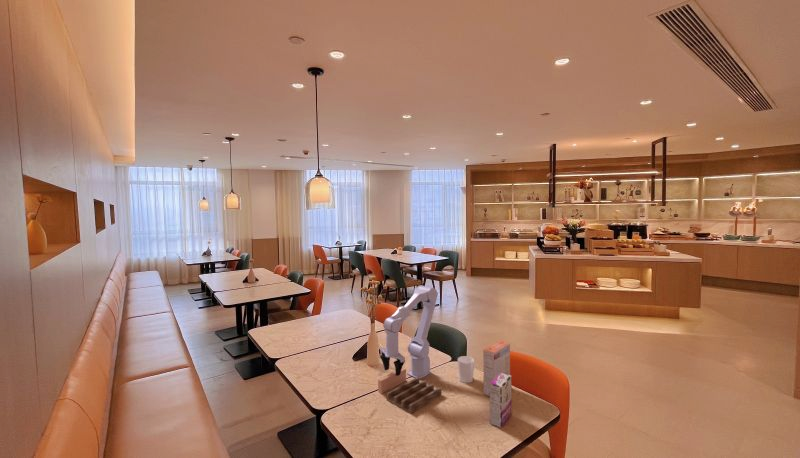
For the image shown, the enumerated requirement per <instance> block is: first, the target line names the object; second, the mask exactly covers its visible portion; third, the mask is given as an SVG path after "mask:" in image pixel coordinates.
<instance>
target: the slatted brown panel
mask: <svg viewBox="0 0 800 458" xmlns="http://www.w3.org/2000/svg"><path fill="white" fill-rule="evenodd" d="M440 396H442V387H441V386H439V387H437V388H436V389H435V384H434V383H431V384H429V385H428V383H427V380H425V379H424V380H422V381H420V379H419V377H417V378H415V377H414V378H413V379H411V380H409V381H407V382H404V384H403V383H402V385H400V386H398V387H396V388H394V389H392V390H389V391H388V392H386V401H388V402H389V403H391V404H393V405H395V406H396V407H398V408H399V409H402V410H404V411H406V412H407V413H409V414H413V413H414V412H416V411H417V410H419V409H422V408H423V407H424V406H425V405H427V404H429V403H430V402H432V401H434V400H435V399H437V398H439V397H440Z"/></svg>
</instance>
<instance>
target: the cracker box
mask: <svg viewBox="0 0 800 458" xmlns="http://www.w3.org/2000/svg"><path fill="white" fill-rule="evenodd" d="M482 358H483V395H484V396H487V397H489V398H490V383H491V382H492V381H493V380H494V379H495V378H496V377H497V376H498V375H499V374H500V373H504V374H507V375H511V344H510V343H508V342H505V341H502V340H498V341H497V342H495V343H493V344H491V345H490V346H487V347H486V348H483V356H482Z"/></svg>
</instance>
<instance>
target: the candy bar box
mask: <svg viewBox="0 0 800 458" xmlns="http://www.w3.org/2000/svg"><path fill="white" fill-rule="evenodd" d="M512 381H513V380H512V375H511V374H510V375H507V374H504V373H500V374H499V375H498V376H497V377H496V378H495V379H494V380H493V381H492V382H491V383H490V397H489V424H490V425H491V426H495V427H497V428H500V429H502V428H503V427H504V426H505V424H506V423H507V421H508V419H509V418H510V417H511V416H512Z"/></svg>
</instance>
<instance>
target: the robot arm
mask: <svg viewBox="0 0 800 458" xmlns="http://www.w3.org/2000/svg"><path fill="white" fill-rule="evenodd" d="M413 292H414V293H413V295H412V296H411V297H410V298H409V300H407V302H406V304H405V305H403V306H402V305H401V306H398V308H397V310H396V311H394V313H393V314H392V315H391V316H390V317H387V318H385V320H384V321H383V324H382V327H383V329H384V333H385V348H380V352H379V353H380V354H381V355H379V358H380V360H381V362H382V365H383V368H384V371H388V370H389V369H390V361H391V358H392V359H395V361H393V365H394V368H395V371H396V376H398V375H400V373H401V369H402V368H403V366H404V365H405V362H406V357H405V356H403V355H402V354H401V353H400V352H399V332H400V330H401V328H402V326H403V323H404V322H405V320H406V319H408V317H409V316H410V311H412V310H413V308H414V307H416V306H417V305H418V304H419V303H420V302H422V304H423V308H422V312H421V316H420V320H419V323H418V328H417V331H416V336H414V337H412V338H411V339H410V342H409V344H408V345H407V352H408V353H409V354H410V355H409V356H410V358H411V359H410V361H411V363H410V366H411V367H410V369H411V370H410V371H409V372H407V375H409V376H411V377H413V378H414V379H415V378H417V377H419V380H420V379H422V378H425V377H426V376H428V375H430V374H431V373H432V371H431V359H430V356H429V354H430V346H431V345H430V342H429V341H428V339H427V338H428V335H429V334H428V333H429V330H430V327H431V325H432V324H431V323H432V320H433V315H434V311H435V309H436V308H435V307H436V303H437V300H438V291H437V289H436V288H434V287H429V286H426V285H422V284H421V285H420V284H419V285H418V286H417V287H416V288H415V289H414V291H413ZM395 371H394V372H395Z"/></svg>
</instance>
